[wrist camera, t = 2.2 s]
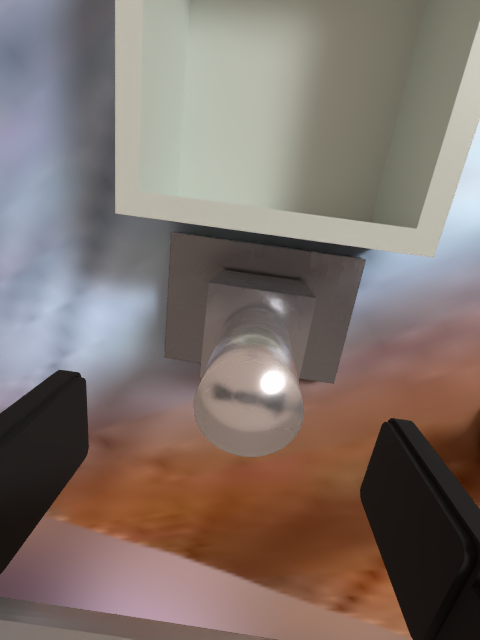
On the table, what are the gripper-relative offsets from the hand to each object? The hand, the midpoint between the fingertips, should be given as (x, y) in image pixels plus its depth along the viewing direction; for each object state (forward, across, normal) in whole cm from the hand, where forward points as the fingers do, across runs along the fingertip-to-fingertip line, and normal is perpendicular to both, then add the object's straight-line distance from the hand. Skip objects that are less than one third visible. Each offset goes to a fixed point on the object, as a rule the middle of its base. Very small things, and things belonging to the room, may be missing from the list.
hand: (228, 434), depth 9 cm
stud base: (+16, -1, 0) cm, 16 cm away
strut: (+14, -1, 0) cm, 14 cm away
